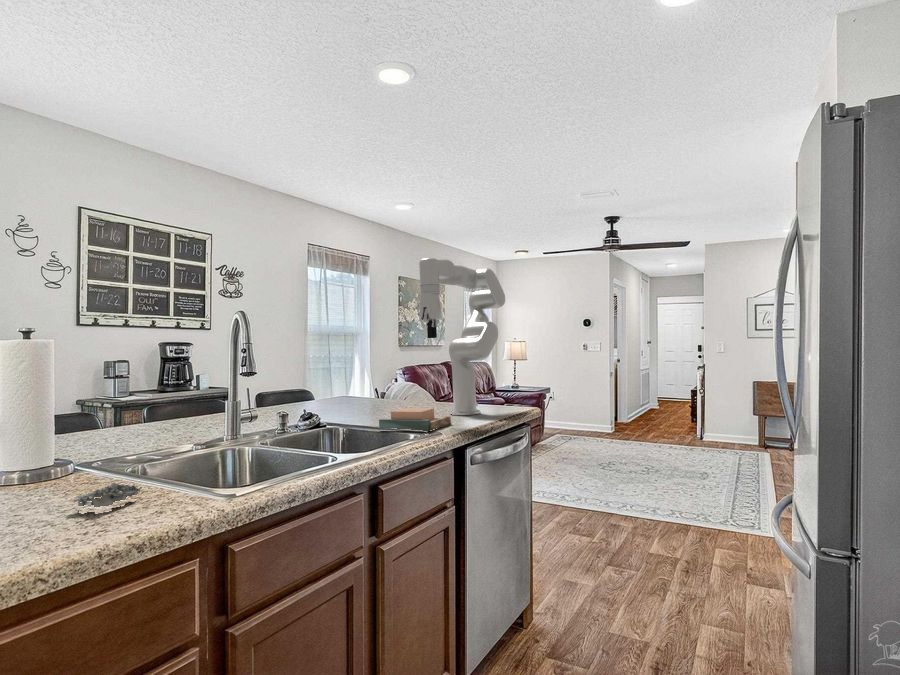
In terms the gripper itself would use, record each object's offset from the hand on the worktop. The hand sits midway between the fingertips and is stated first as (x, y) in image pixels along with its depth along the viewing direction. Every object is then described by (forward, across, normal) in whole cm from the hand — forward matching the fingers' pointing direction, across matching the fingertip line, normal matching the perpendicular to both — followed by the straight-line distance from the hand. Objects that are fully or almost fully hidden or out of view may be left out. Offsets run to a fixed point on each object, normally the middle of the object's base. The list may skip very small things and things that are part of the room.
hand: (432, 337), depth 210 cm
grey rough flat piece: (+32, +118, -14) cm, 123 cm away
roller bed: (+32, +16, 0) cm, 36 cm away
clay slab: (+29, +18, 0) cm, 34 cm away
